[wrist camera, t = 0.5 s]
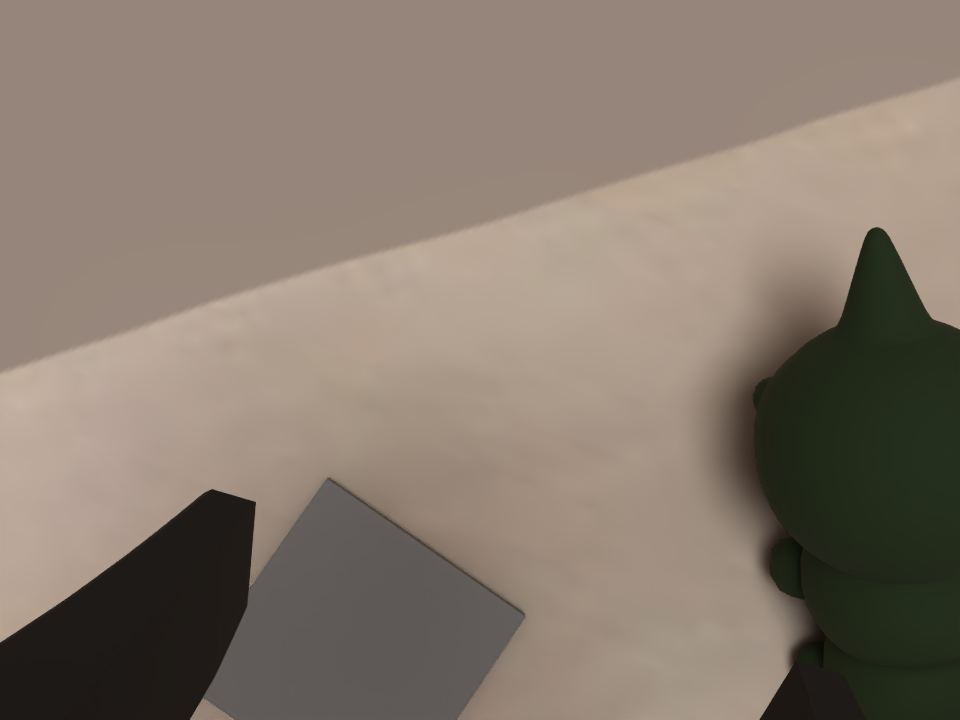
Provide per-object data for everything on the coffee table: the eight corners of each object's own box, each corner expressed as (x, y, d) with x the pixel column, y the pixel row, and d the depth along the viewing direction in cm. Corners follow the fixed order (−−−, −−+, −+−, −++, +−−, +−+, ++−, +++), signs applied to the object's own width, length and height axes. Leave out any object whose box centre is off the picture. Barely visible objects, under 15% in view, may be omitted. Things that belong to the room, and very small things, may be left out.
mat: (387, 818, 37) (386, 824, 36) (187, 679, 37) (183, 683, 36) (524, 613, 38) (525, 616, 37) (328, 477, 38) (326, 478, 37)
